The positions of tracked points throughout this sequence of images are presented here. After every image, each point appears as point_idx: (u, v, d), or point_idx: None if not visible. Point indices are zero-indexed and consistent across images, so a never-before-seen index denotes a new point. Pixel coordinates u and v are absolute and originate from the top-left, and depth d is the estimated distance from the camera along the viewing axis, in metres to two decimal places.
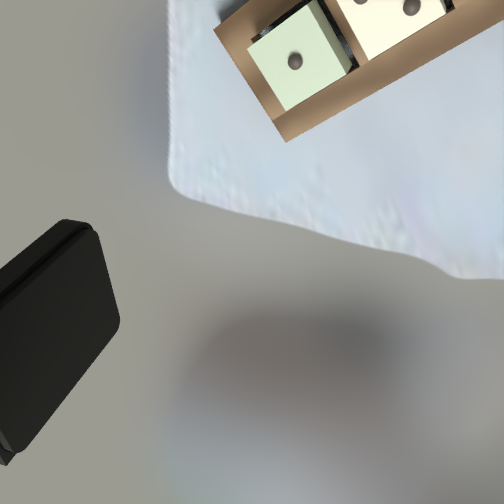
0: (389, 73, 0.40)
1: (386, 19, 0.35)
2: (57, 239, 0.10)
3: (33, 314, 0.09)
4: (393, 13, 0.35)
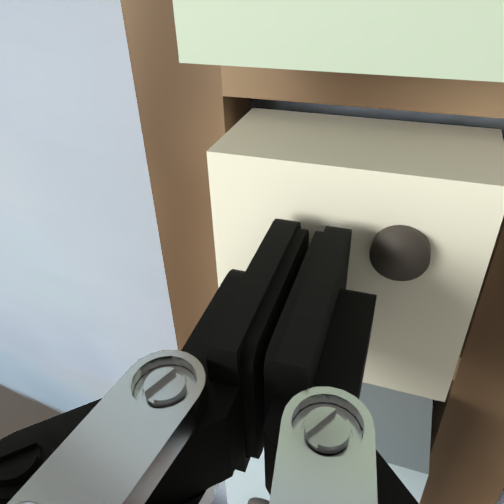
0: (165, 121, 0.13)
1: None
2: (283, 239, 0.09)
3: (280, 316, 0.09)
4: None
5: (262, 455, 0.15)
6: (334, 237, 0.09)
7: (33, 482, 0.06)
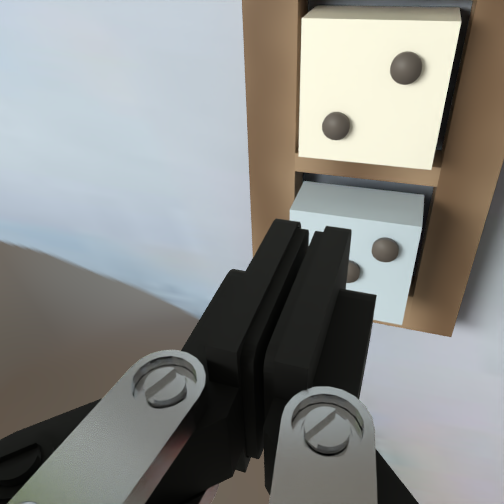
0: (259, 18, 0.21)
1: (344, 82, 0.20)
2: (284, 239, 0.09)
3: (280, 316, 0.09)
4: (345, 97, 0.20)
5: None
6: (334, 237, 0.09)
7: (34, 482, 0.06)
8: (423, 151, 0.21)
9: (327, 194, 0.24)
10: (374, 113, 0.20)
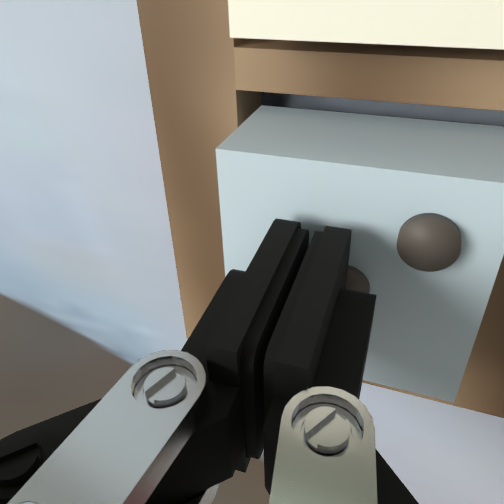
0: None
1: None
2: (284, 239, 0.09)
3: (280, 316, 0.09)
4: None
5: (277, 217, 0.11)
6: (334, 237, 0.09)
7: (33, 482, 0.06)
8: None
9: (303, 125, 0.11)
10: None
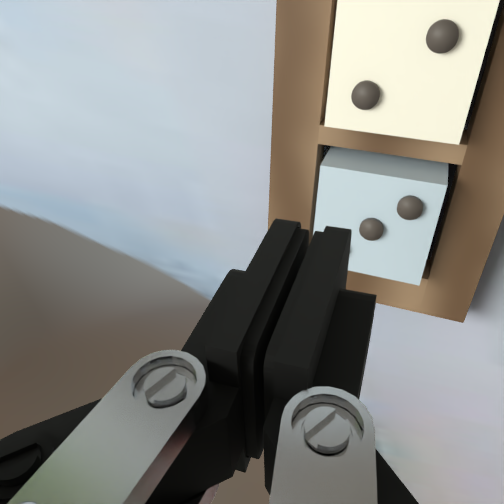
0: None
1: (377, 50, 0.20)
2: (284, 239, 0.09)
3: (280, 316, 0.09)
4: (377, 65, 0.20)
5: (344, 196, 0.24)
6: (334, 237, 0.09)
7: (33, 482, 0.06)
8: (452, 125, 0.20)
9: (355, 154, 0.25)
10: (405, 83, 0.20)
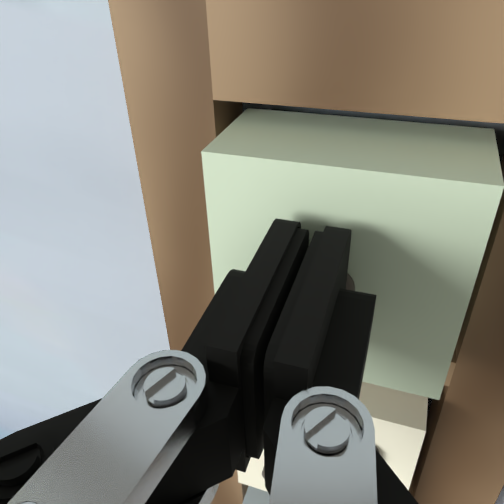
0: None
1: None
2: (284, 239, 0.09)
3: (280, 316, 0.09)
4: None
5: None
6: (334, 237, 0.09)
7: (33, 483, 0.06)
8: None
9: None
10: None
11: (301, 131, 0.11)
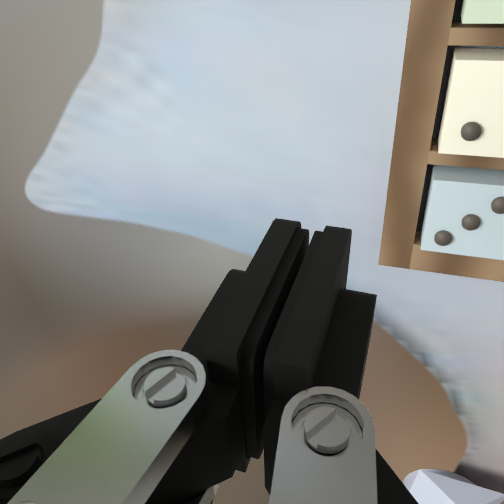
0: (416, 58, 0.30)
1: (480, 101, 0.29)
2: (284, 239, 0.09)
3: (280, 316, 0.09)
4: (479, 111, 0.30)
5: (450, 200, 0.34)
6: (334, 237, 0.09)
7: (33, 483, 0.06)
8: None
9: (454, 169, 0.34)
10: (499, 122, 0.30)
11: None
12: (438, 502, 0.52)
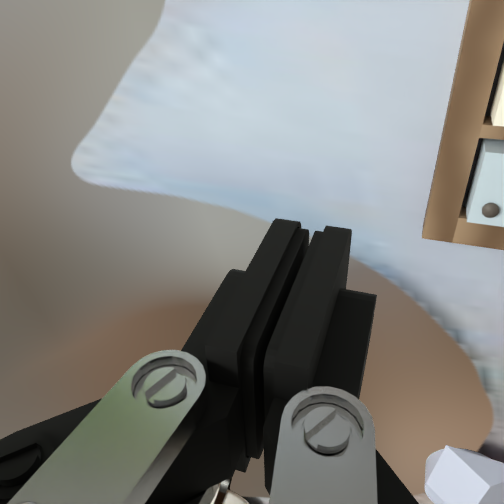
0: (477, 32, 0.32)
1: None
2: (284, 239, 0.09)
3: (280, 316, 0.09)
4: None
5: (500, 172, 0.35)
6: (334, 237, 0.09)
7: (33, 482, 0.06)
8: None
9: None
10: None
11: None
12: (463, 478, 0.53)
